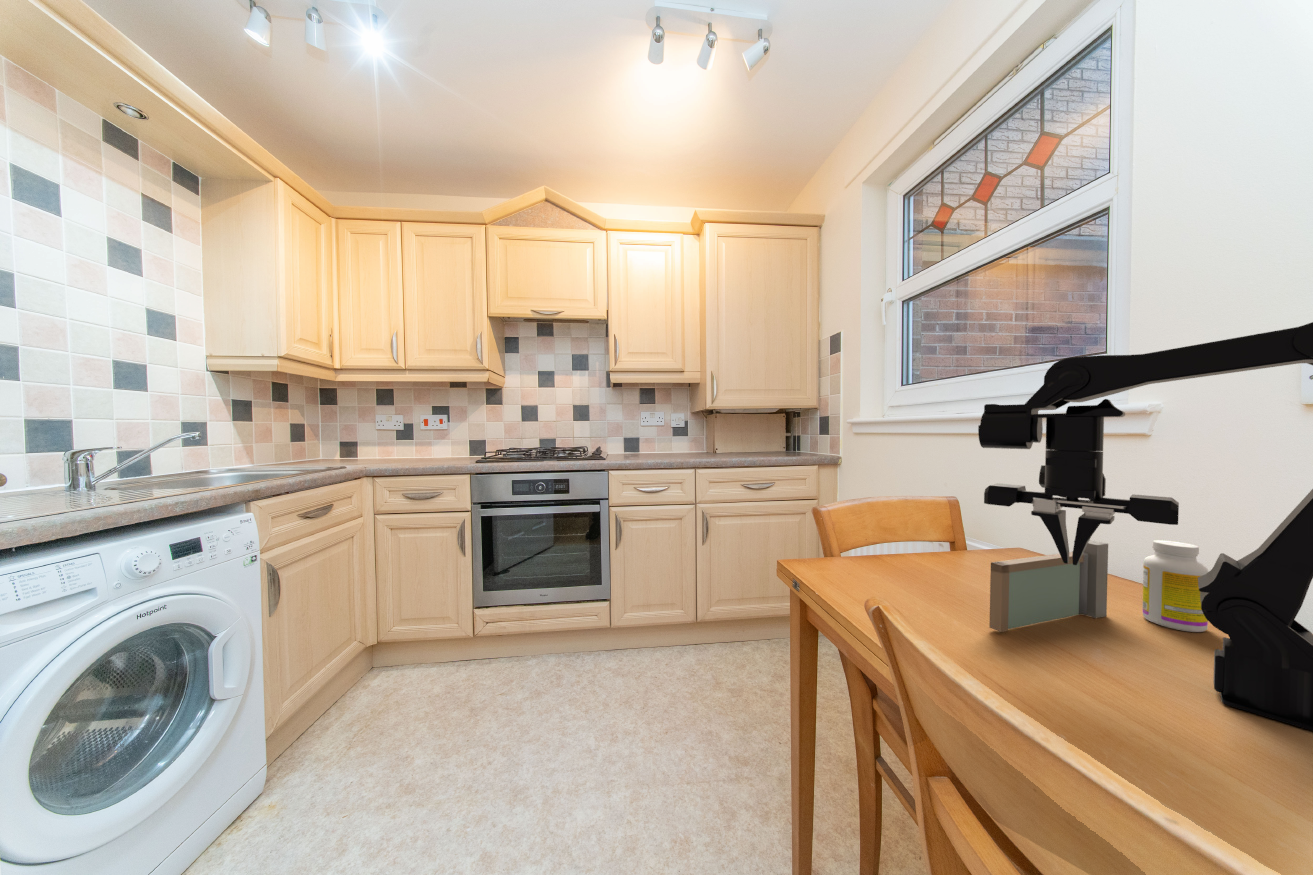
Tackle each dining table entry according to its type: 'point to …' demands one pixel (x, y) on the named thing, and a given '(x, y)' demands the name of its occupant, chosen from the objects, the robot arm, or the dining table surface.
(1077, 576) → the gate
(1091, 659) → the dining table surface
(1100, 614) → the gatepost
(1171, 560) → the supplement bottle
